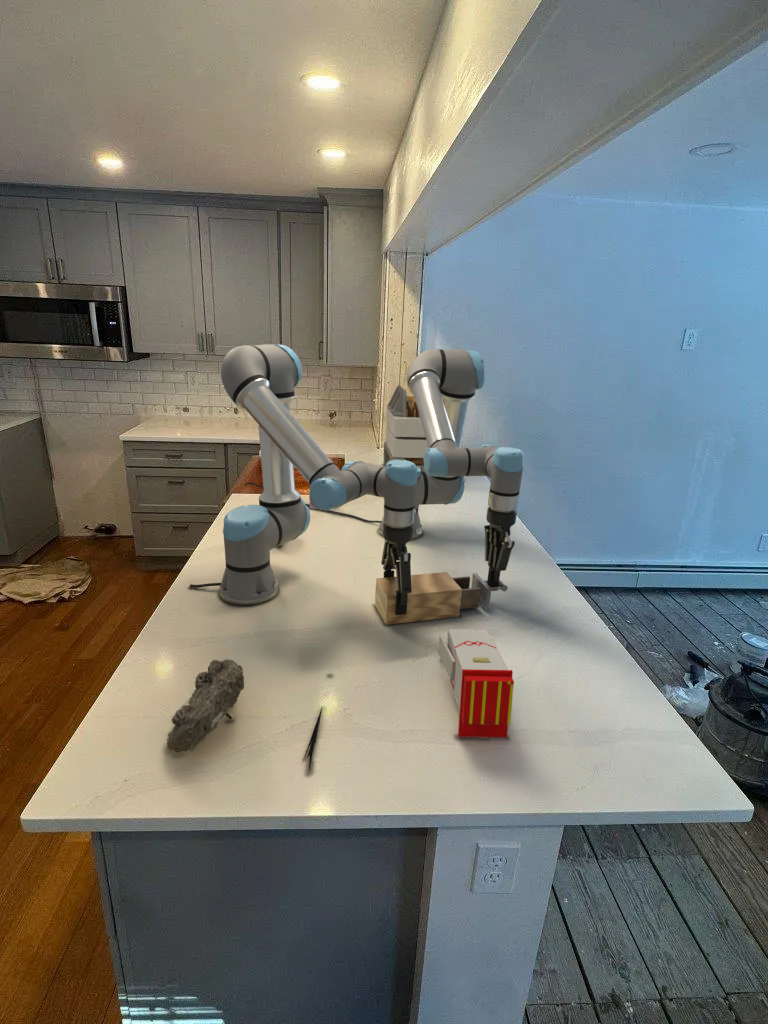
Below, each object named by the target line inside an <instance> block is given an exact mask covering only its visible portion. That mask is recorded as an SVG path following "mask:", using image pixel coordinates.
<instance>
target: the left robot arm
mask: <svg viewBox="0 0 768 1024" xmlns="http://www.w3.org/2000/svg"><path fill="white" fill-rule="evenodd" d="M302 376H303V367H302V363H301V360H300V357H298V355H297V353H295V351H294V350H293V349H292V348H290V347H289V346H287V345H284V344H276V343H270V344H269V343H267V344H254V345H253V344H251V345H250V344H249V345H248V344H247V345H239V346H236V347H234V348H232V349H230V350H229V352H227V353H226V355H225V356H224V357H223V360H222V362H221V366H220V379H221V383H222V386H223V388H224V390H225V392H226V393H227V396H228V397H229V398H230V400H232V403H234V404H235V406H236V407H237V408H238V409H243V410H245V411H246V412H247V413H248V414H249V415H250V417H251V418H252V419H253V420H254V421H255V423H257V425H258V436H259V447H260V448H259V451H260V462H261V463H260V464H261V474H262V486H263V488H262V489H263V491H262V493H261V494H260V495H259V496H258V504H259V505H258V504H247V505H241V506H240V505H239V506H238V507H235V508H233V509H231V510H229V511H228V512H227V513H226V514H225V515H224V518H223V527H222V534H223V546H224V558H225V560H224V562H225V568H224V572H223V576H222V579H221V582H209V583H208V582H207V583H201V584H192V583H190V584H189V588H193V589H194V588H195V589H196V588H197V589H199V588H207V587H219V594H220V595H219V596H220V597H221V599H222V600H223V601H224V602H227V603H230V604H233V605H239V606H249V605H250V606H252V605H253V606H254V605H258V604H262V603H265V602H267V601H270V600H271V599H273V598H274V597H275V596H276V595H277V593H278V584H279V580H278V579H276V576H275V573H274V571H273V569H272V566H271V550H273V549H275V548H277V547H281V546H282V545H284V544H286V543H288V542H290V541H294V540H296V539H298V538H299V537H300V536H302V535H304V533H305V532H306V531H307V530H308V529H309V526H310V522H311V511H310V507H309V506H306V505H305V504H307V503H306V501H305V500H304V499H303V498H302V494H301V493H300V492H299V491H298V490H296V485H295V484H296V483H295V472H294V471H295V470H294V468H295V469H296V471H297V472H298V473H299V474H300V475H301V476H302V477H303V478H304V480H305V481H306V482H307V483H308V485H309V484H310V486H309V490H308V496H309V495H310V497H311V501H312V503H313V504H314V505H315V506H316V507H317V508H319V509H321V510H320V511H323V510H325V511H324V512H327V511H326V510H331V511H332V510H334V509H338V508H340V507H343V506H344V505H346V504H348V503H350V502H352V501H355V500H357V499H359V498H363V497H364V496H366V495H369V496H374V497H377V498H383V515H382V519H383V521H384V524H383V535H382V538H383V540H384V544H383V550H382V556H381V561H380V563H381V565H382V569H383V578H385V577H396V576H397V585H398V590H397V591H395V592H396V609H395V614H396V615H402V614H406V612H407V596H408V593H411V592H412V589H411V575H412V570H411V569H412V568H411V559H412V554H411V552H408V547H407V543H409V542H410V541H412V540H414V539H413V529H414V526H413V523H414V514H415V513H416V510H415V495H416V484H417V467H418V466H416V465H415V464H414V463H413V462H410V461H406V460H392V461H389V462H387V464H386V466H384V465H383V466H382V465H377V464H373V463H369V462H365V461H361V460H349V461H346V463H345V464H344V465H343V466H342V468H341V469H340V468H339V467H338V466H337V465H336V464H335V463H334V462H333V461H332V459H331V458H330V457H329V456H328V455H327V454H326V452H324V450H323V449H322V448H321V446H319V445H318V443H317V442H316V441H315V440H314V439H313V437H312V436H311V435H310V434H309V433H308V432H307V431H306V429H305V428H304V427H303V426H302V425H301V424H300V423H299V421H298V419H296V418H295V416H294V415H293V414H292V413H291V408H290V407H291V405H290V403H291V402H292V401H293V400H294V399H295V397H296V396H295V395H296V394H295V393H296V392H295V388H296V387H297V386H298V385H299V383H300V381H301V380H302ZM319 509H318V510H319ZM280 545H281V546H280ZM395 575H396V576H395Z"/></svg>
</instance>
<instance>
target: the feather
mask: <svg viewBox="0 0 768 1024" xmlns="http://www.w3.org/2000/svg"><path fill="white" fill-rule="evenodd" d="M329 675H330V676H331V675H332V674H331V673H330V674H329ZM322 710H323V707H321V708H320V710H319V713H318V716H317V719H316V723H315V725H314V728H313V731H312V733H311V737H310V739H309V742H308V745H307V748H306V751H305V754H304V757H303V760H302V763H301V767H302V765H303V763H304V761H305V758H308V759H309V760H308V762H307V763H308V764H307V766H308V771H310V770H311V766H312V765H311V764H312V760H313V757H315V756H314V755H315V751H316V749H315V746H317V739H318V733H319V729H320V722H321V717H322V712H323V711H322ZM313 754H314V755H313ZM306 755H307V757H306Z"/></svg>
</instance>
